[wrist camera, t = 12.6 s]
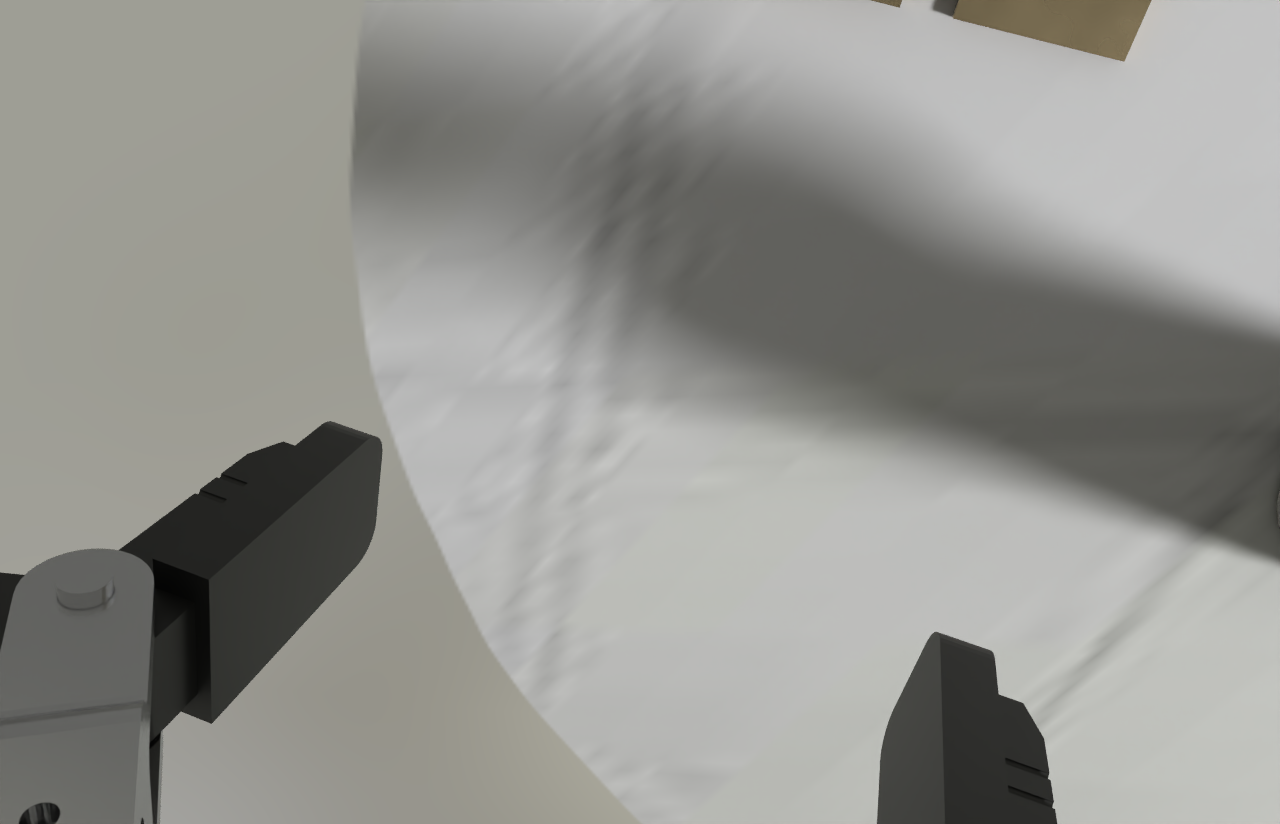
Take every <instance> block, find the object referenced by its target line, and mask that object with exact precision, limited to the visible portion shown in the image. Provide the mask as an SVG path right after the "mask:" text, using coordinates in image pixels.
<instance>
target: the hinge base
mask: <svg viewBox="0 0 1280 824" xmlns="http://www.w3.org/2000/svg"><path fill="white" fill-rule="evenodd" d="M872 1H876V2H880V3H884V4H888V5H892V6H896V7H899V8H900V5H901V2H902V0H872ZM1150 2H1151V0H958V2H957V5H956V8H955V10H954V13H953V16H952V17H953V18H954V19H958V20H961V21H965V22H969V23H973V24H977V25H981V26H985V27H989V28H993V29H997V30H1001V31H1005V32H1009V33H1013V34H1017V35H1021V36H1025V37H1029V38H1033V39H1037V40H1041V41H1045V42H1049V43H1053V44H1057V45H1061V46H1064V47H1068V48H1072V49H1076V50H1080V51H1084V52H1088V53H1092V54H1096V55H1100V56H1104V57H1108V58H1112V59H1116V60H1120V61H1125V59H1126V56H1127V54H1128V52H1129V50H1130V47H1131V45H1132V43H1133V41H1134V38H1135V36H1136V34H1137V32H1138V29H1139V27H1140V25H1141V23H1142V20H1143V18H1144V16H1145V14H1146V11H1147V9H1148V7H1149V5H1150Z"/></svg>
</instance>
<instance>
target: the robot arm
mask: <svg viewBox="0 0 1280 824" xmlns="http://www.w3.org/2000/svg"><path fill="white" fill-rule="evenodd" d="M381 461H382V444H381V441H380V439H379V438H378V437H375V436H372V435H369V434H367V433H364V432H361V431H358V430H355V429H352V428H349V427H346V426H343V425H340V424H338V423H335V422H331V421H329V422H326V423H324V424H322V425H321V426H320V427H318V428H317V429H316V430H314V431H313V432H312V433H311V434H309V435H308V436H307V437H306V438H305V439H303V440H302V441H300V442H299V443H298V444H297V445H295V446H294V445H291V444H289V443H285V442H281V443H278V444H275V445H272V446H269V447H266V448H263V449H261V450H258V451H255V452H252V453H249V454H247V455H246V456H244V457H243V458H242V459H240V460H239V461H238V462H236V463H235V464H233V466H231V467H229V468H228V469H227V470H225V471H224V472H223V473H222V474H221V477H220V478H215V479H214V480H212V481H211V482H210V483H208V484H207V485H205V486H204V487H203V488H201V489H200V492H199V494H194V495H192V496H191V497H189V498H188V499H187V500H185V501H184V502H183V503H181V504H180V505H179V506H178V507H176V508H175V509H173V510H172V511H171V512H169V513H168V514H167V515H165V516H164V517H163V518H161V519H160V520H159V521H157V522H156V523H154V524H153V525H152V526H150V527H149V528H148V529H147V530H145V531H144V532H142V533H141V534H140V535H139V536H137V537H136V538H134V539H133V540H132V541H130V542H129V543H128V544H126V545H125V546H124V547H122V548H121V549H120V550H111V549H85V550H78V551H73V552H69V553H65V554H62V555H59V556H56V557H53V558H51V559H48V560H46V561H44V562H42V563H41V564H39V565H37V566H36V567H34V568H33V569H32V570H30V571H29V572H28V573H27V574H26V575H18V574H9V573H0V824H160V810H161V783H162V760H163V729H164V728H165V727H166V726H167V725H168V724H169V723H170V722H171V721H172V720H173V719H174V718H175V717H176V716H177V715H178V714H179V713H180V712H181V711H182V712H184V713H187V714H189V715H191V716H194V717H196V718H199V719H201V720H204V721H206V722H209V723H211V724H212V723H213V722H214V721H215V719H217V717H218V716H219V715H220V714H221V713H222V712H223V711H224V710H225V709H226V708H227V707H228V705H229V704H230V703H231V702H232V701H233V700H234V699H235V698H236V697H237V696H238V695H239V693H240V692H241V691H242V690H243V689H244V688H245V687H246V686H247V685H248V684H249V683H250V681H251V680H252V679H253V678H254V677H255V676H256V675H257V674H258V673H259V672H260V671H261V669H262V668H263V667H264V666H265V665H266V664H267V663H268V662H269V661H270V660H271V658H273V656H274V655H275V654H276V653H277V652H278V651H279V650H280V649H281V648H282V647H283V646H284V644H285V643H286V642H287V641H288V640H289V639H290V638H291V636H293V635H294V634H295V632H296V631H297V630H298V629H299V628H300V627H301V626H302V625H303V624H304V623H305V622H306V621H307V619H308V618H309V617H310V616H311V615H312V614H313V613H314V612H315V611H316V610H317V609H318V607H319V606H320V605H321V604H322V603H323V602H324V601H325V600H326V599H327V598H328V596H329V595H330V594H331V593H332V592H333V591H334V590H335V589H336V588H337V587H338V586H339V585H340V584H341V582H342V581H343V580H344V579H345V578H346V577H347V576H348V575H349V574H350V573H351V572H352V570H353V569H354V568H355V567H356V566H357V565H358V564H359V562H360V561H361V559H362V558H363V556H364V555H365V553H366V551H367V549H368V547H369V545H370V542H371V540H372V537H373V533H374V530H375V525H376V516H377V505H378V494H379V483H380V472H381ZM1277 517H1278V525H1279V528H1280V491H1279V495H1278V500H1277ZM1048 775H1049V768H1048V761H1047V755H1046V748H1045V742H1044V738H1043V736H1042V735H1041V733H1040V731H1039V729H1038V728H1037V726H1036V724H1035V723H1034V721H1033V719H1032V717H1031V716H1030V714H1029V712H1028V711H1027V709H1026V707H1025V706H1024V704H1023V703H1021V702H1018V701H1016V700H1013V699H1010V698H1007V697H1004V696H1001V695H998V685H997V675H996V665H995V658H994V654H993V652H992V651H990V650H988V649H985V648H982V647H979V646H976V645H973V644H970V643H967V642H964V641H962V640H959V639H956V638H953V637H950V636H947V635H944V634H941V633H938V632H934V633H933V634H932V635H931V636H930V638H929V639H928V641H927V643H926V645H925V647H924V649H923V651H922V653H921V655H920V657H919V659H918V661H917V663H916V665H915V667H914V669H913V671H912V673H911V675H910V677H909V679H908V681H907V683H906V685H905V687H904V689H903V691H902V693H901V695H900V697H899V699H898V702H897V704H896V706H895V708H894V710H893V712H892V714H891V717H890V719H889V722H888V725H887V728H886V732H885V736H884V740H883V745H882V750H881V759H880V777H879V796H878V816H877V824H1057V819H1056V813H1055V809H1053V808H1052V805H1053V802H1054V800H1053V794H1052V787H1051V781H1050V780H1049V779H1048Z"/></svg>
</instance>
